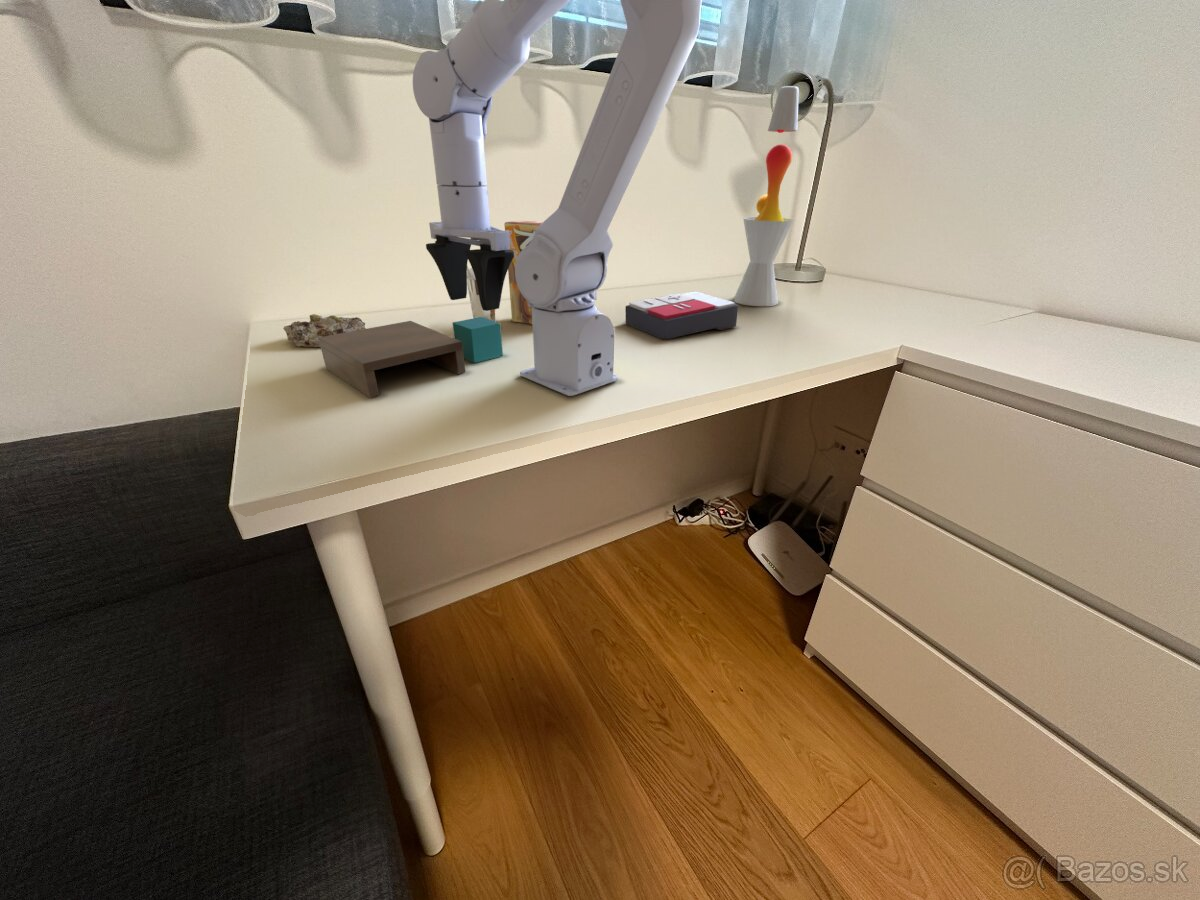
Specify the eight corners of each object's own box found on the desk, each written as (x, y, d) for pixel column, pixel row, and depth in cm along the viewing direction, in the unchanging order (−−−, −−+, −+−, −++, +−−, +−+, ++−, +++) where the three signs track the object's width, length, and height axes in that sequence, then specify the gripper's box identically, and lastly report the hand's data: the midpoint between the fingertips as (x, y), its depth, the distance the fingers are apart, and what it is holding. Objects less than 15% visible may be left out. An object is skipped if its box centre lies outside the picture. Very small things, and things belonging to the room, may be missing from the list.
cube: (503, 356, 69) (500, 323, 67) (474, 363, 67) (471, 329, 64) (484, 348, 72) (481, 316, 70) (456, 355, 69) (452, 322, 67)
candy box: (569, 322, 85) (567, 222, 78) (557, 328, 82) (554, 224, 74) (523, 316, 88) (517, 219, 81) (510, 322, 85) (503, 221, 77)
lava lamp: (788, 305, 98) (830, 84, 82) (745, 307, 97) (779, 81, 80) (764, 295, 106) (798, 91, 89) (724, 297, 104) (751, 89, 87)
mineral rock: (286, 336, 68) (277, 307, 72) (293, 364, 71) (283, 335, 75) (372, 328, 73) (358, 302, 78) (375, 354, 76) (361, 327, 81)
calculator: (624, 300, 83) (695, 287, 90) (624, 326, 86) (694, 312, 92) (665, 315, 75) (740, 300, 82) (664, 344, 77) (737, 326, 84)
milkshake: (461, 330, 80) (453, 263, 75) (483, 322, 84) (477, 258, 79) (484, 334, 78) (477, 266, 73) (505, 326, 82) (500, 261, 78)
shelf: (465, 372, 63) (462, 341, 62) (370, 398, 56) (363, 363, 54) (415, 349, 71) (410, 320, 70) (325, 368, 64) (317, 337, 62)
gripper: (400, 183, 61) (418, 298, 68) (466, 188, 53) (479, 319, 59) (452, 183, 66) (464, 291, 72) (521, 187, 57) (527, 310, 64)
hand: (474, 303), depth 66 cm, fingers open, 7 cm apart
